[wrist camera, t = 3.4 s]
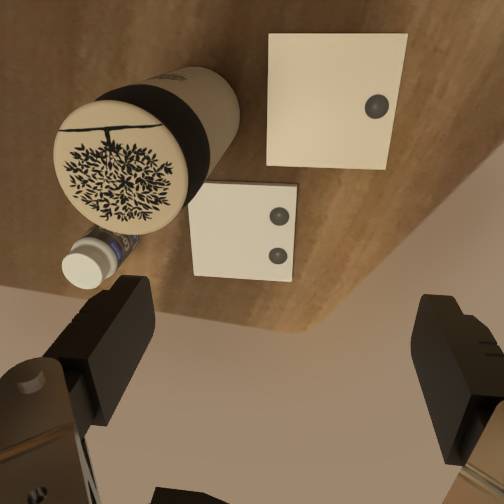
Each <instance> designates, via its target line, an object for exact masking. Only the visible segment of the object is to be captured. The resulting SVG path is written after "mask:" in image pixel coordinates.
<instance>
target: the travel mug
mask: <svg viewBox="0 0 504 504" xmlns="http://www.w3.org/2000/svg"><path fill="white" fill-rule="evenodd" d="M239 124H240V108H239V103H238V100H237V97H236V95H235V93H234V91H233V89H232V88H231V86H230V85H229V84H228V82H227V81H226V80H225V79H224V78H223V77H221V76H220V75H219V74H217V73H216V72H214V71H212V70H209V69H207V68H203V67H185V68H182V69H179V70H176V71H172V72H169V73H166V74H163V75H160V76H156V77H153V78H150V79H147V80H144V81H141V82H137V83H134V84H131V85H128V86H125V87H121V88H118V89H115V90H112V91H109V92H107V93H105V94H103V95H102V96H100V97H99V98H97V99H96V100H95V101H94V102H91V103H88V104H86V105H83V106H81V107H79V108H78V109H76V110H75V111H73V112H72V113H71V114H70V115H69V116H68V117H67V118H66V119H65V121H64V122H63V123H62V125H61V127H60V129H59V131H58V133H57V136H56V139H55V144H54V165H55V170H56V174H57V177H58V180H59V183H60V185H61V187H62V189H63V191H64V193H65V194H66V196H67V197H68V199H69V200H70V201H71V203H72V204H73V205H74V206H75V207H76V208H77V210H78V211H80V212H81V213H82V214H83V215H84V216H85V217H86V218H88V219H89V220H91V221H92V222H93V223H95V224H97V225H99V226H101V227H103V228H105V229H107V230H110V231H113V232H116V233H121V234H127V235H141V234H147V233H151V232H154V231H156V230H159V229H161V228H163V227H164V226H166V225H167V224H168V223H170V222H171V221H172V220H173V219H174V218H175V217H176V216H177V214H178V213H179V211H180V210H181V209H182V208H184V207H185V206H186V205H187V204H188V203H189V202H191V200H192V199H193V198H194V197H195V195H196V194H197V192H198V191H199V189H200V188H201V187H202V185H203V184H204V182H205V181H206V179H207V178H208V176H209V175H210V173H211V172H212V170H213V169H214V167H215V166H216V164H217V163H218V161H219V160H220V158H221V157H222V155H223V154H224V152H225V151H226V150H227V148H228V147H229V145H230V144H231V142H232V141H233V139H234V138H235V136H236V134H237V131H238V128H239Z"/></svg>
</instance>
